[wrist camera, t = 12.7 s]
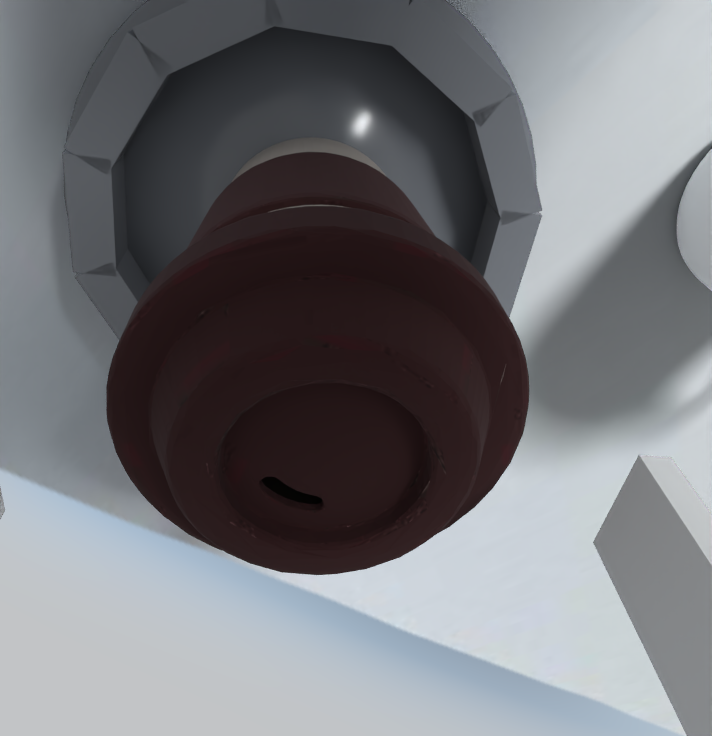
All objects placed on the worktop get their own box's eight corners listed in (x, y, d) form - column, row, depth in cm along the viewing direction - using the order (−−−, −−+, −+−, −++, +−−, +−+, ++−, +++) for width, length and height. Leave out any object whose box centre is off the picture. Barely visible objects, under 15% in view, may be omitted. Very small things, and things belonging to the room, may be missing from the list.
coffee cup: (384, 52, 23) (491, 174, 10) (459, 283, 28) (589, 548, 16) (140, 158, 24) (-26, 379, 12) (255, 359, 30) (225, 660, 17)
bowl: (47, -102, 21) (13, -110, 18) (594, 0, 23) (630, 5, 21) (88, 382, 31) (69, 420, 28) (467, 412, 34) (481, 449, 31)
